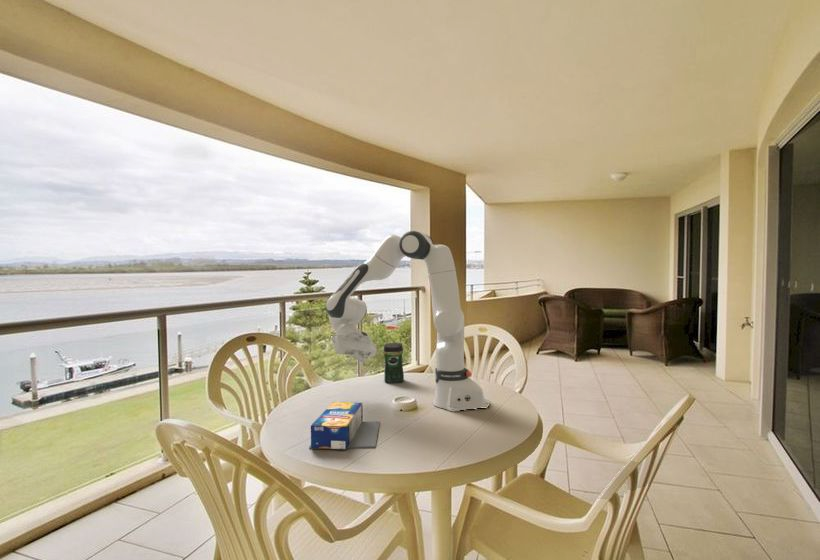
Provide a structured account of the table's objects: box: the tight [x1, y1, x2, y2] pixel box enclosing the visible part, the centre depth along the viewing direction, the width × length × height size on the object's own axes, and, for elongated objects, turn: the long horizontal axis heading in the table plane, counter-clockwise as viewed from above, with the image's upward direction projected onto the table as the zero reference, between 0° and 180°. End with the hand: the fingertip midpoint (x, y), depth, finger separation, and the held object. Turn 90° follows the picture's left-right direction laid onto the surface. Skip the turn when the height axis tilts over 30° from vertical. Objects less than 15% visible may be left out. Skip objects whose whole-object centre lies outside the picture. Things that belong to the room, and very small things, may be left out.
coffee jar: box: [383, 342, 405, 384], centre depth 185 cm, size 10×8×19 cm
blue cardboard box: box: [310, 401, 364, 450], centre depth 126 cm, size 7×11×22 cm
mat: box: [309, 420, 381, 450], centre depth 126 cm, size 20×19×1 cm
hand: (363, 361), depth 153 cm, fingers closed
